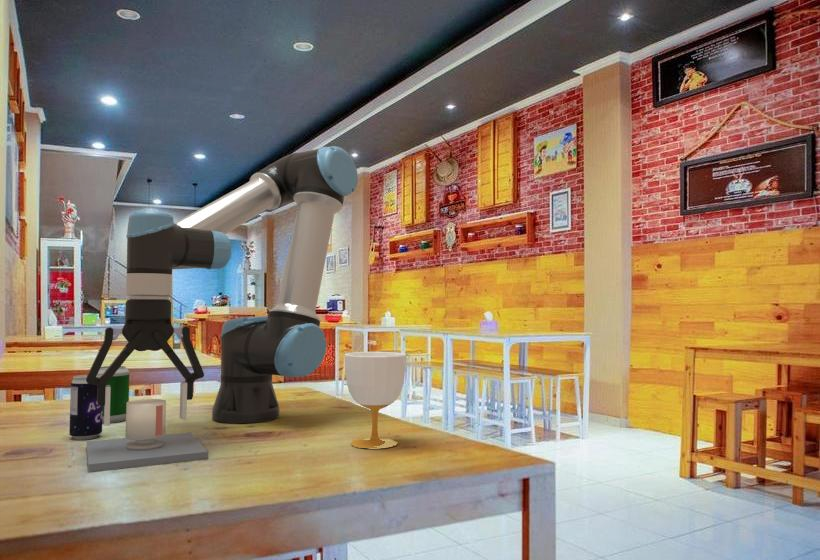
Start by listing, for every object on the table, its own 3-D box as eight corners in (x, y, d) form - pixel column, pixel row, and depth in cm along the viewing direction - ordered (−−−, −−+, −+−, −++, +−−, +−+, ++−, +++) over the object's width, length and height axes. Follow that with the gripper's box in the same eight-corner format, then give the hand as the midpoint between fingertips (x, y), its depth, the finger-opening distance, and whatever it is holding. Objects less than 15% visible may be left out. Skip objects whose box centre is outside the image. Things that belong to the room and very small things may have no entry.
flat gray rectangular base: (190, 438, 119) (190, 424, 119) (207, 458, 103) (208, 442, 103) (86, 448, 110) (87, 433, 110) (88, 472, 94) (88, 454, 95)
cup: (418, 444, 115) (418, 354, 116) (373, 454, 107) (374, 357, 107) (375, 434, 123) (376, 350, 124) (330, 444, 115) (331, 353, 115)
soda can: (135, 419, 137) (136, 366, 138) (103, 425, 131) (104, 369, 132) (116, 416, 141) (117, 364, 142) (84, 421, 135) (85, 367, 136)
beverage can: (88, 441, 116) (89, 378, 116) (62, 439, 117) (64, 377, 117) (108, 435, 121) (110, 374, 122) (83, 433, 122) (85, 374, 123)
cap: (127, 433, 109) (128, 399, 109) (166, 431, 111) (166, 398, 111) (123, 441, 103) (124, 405, 103) (164, 438, 105) (164, 403, 105)
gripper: (214, 299, 117) (211, 412, 116) (71, 297, 105) (67, 423, 104) (222, 298, 110) (220, 418, 110) (71, 297, 99) (67, 431, 98)
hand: (145, 421), depth 107 cm, fingers open, 12 cm apart
